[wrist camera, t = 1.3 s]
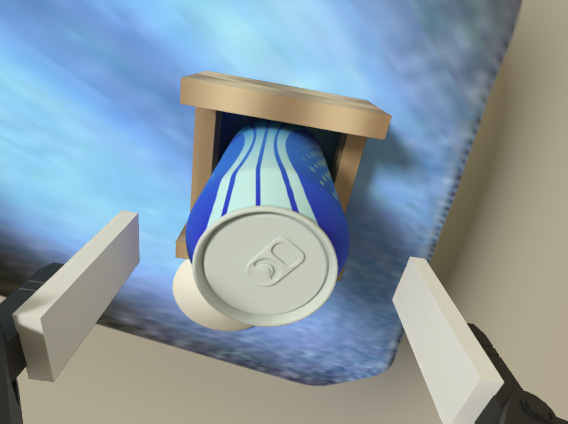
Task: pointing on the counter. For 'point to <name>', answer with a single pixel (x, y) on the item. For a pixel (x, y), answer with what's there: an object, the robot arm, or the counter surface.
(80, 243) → the counter surface
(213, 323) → the trivet
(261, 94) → the oak holder
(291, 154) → the beer can
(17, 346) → the robot arm
